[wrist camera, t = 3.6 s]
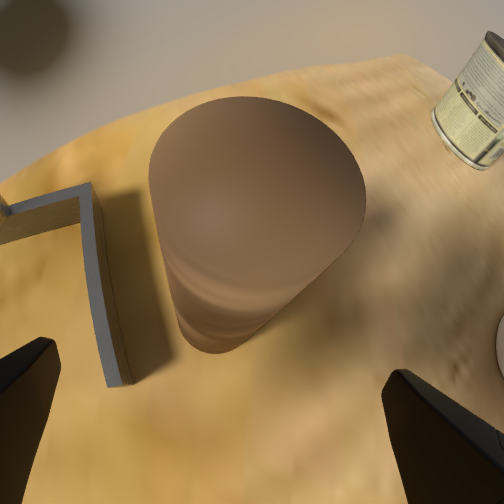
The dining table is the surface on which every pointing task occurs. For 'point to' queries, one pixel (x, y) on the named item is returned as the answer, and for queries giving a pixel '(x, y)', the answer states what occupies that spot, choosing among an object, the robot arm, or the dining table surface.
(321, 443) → the dining table surface
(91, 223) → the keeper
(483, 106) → the coffee can
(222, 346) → the peg
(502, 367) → the milk bottle
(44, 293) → the dining table surface
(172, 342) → the dining table surface
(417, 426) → the robot arm
